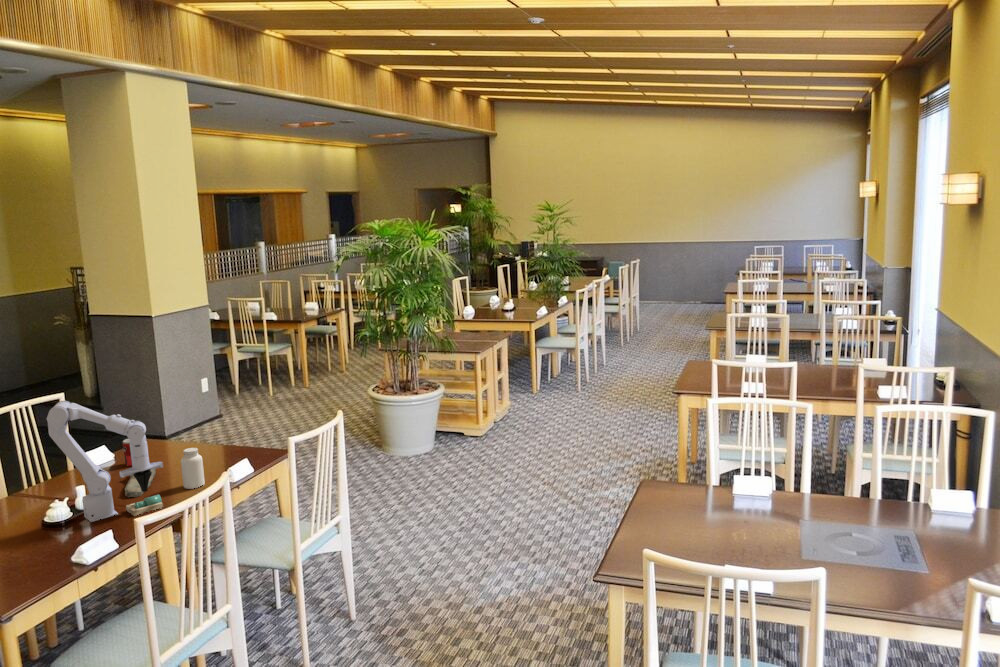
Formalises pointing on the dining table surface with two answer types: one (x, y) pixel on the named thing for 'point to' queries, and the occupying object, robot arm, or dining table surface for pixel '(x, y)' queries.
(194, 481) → the pill bottle
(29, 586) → the dining table surface
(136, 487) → the grey rock slab
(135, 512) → the cradle
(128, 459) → the canned food
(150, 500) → the bottle
